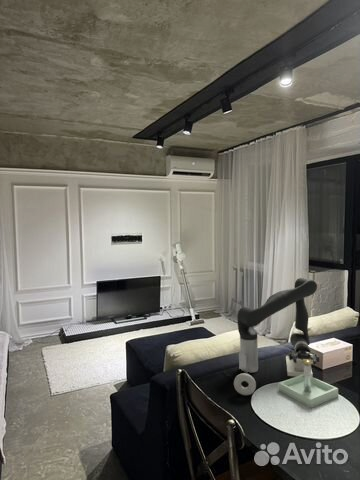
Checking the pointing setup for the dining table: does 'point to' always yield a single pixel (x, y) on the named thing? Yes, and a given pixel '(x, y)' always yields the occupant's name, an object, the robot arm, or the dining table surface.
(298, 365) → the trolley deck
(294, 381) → the tray
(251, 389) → the donut
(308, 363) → the pin
